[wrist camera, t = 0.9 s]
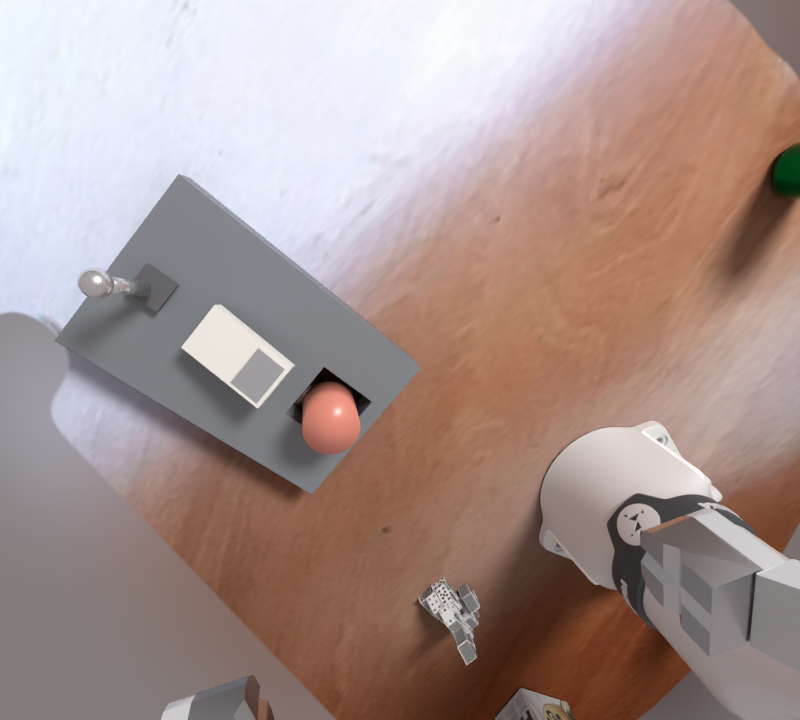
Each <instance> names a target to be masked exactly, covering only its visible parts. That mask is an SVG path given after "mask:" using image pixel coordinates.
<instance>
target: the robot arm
mask: <svg viewBox="0 0 800 720" xmlns="http://www.w3.org/2000/svg"><path fill="white" fill-rule="evenodd" d="M722 498H723V497H722V495H721V494H720V492H719V491H718V490H717V489H716V488H715V487H713V486H712V485H711V481H710V480H709V479H708V478H707V477H706V476H705V475H704V474H703V473H702V472H701V471H700V470H698V469H697V468H695V467H694V466H693V465H691V464H690V463H688V462H687V461H686V460H684V459H683V458H682V457H681V455H680V453H679V452H678V450H677V448H676V446H675V445H674V443H673V441H672V439H671V438H670V436H669V434H668V432H667V431H666V429H665V428H664V427H663V426H662V425H661V424H660V423H658V422H657V421H648V422H645V423H642V424H639V425H637V426H634V427H629V428H623V427H610V428H603V429H599V430H596V431H593V432H590V433H588V434H586V435H584V436H582V437H580V438H578V439H577V440H575V441H574V442H573V443H571V444H570V445H569V446H567V447H566V448H565V449H564V450H563V451H562V452H561V453H560V454H559V455H558V457H557V458H556V459H555V460H554V462H553V463H552V465H551V466H550V468H549V470H548V472H547V474H546V476H545V478H544V481H543V484H542V488H541V495H540V504H541V510H542V516H543V522H542V526H541V529H540V534H539V542H540V544H541V545H542V546H543V547H544V548H545V549H546V550H548V551H551V552H553V553H556V554H558V555H561V556H563V557H566V558H569V559H571V560H573V562H574V563H575V564H576V565H577V566H578V567H579V569H580V570H581V571H582V572H583V573H584V574H585V575H586V577H587V578H588V579H589V580H590V581H591V582H592V583H593V584H595V585H599V584H600V585H601V586H603V587H605V588H608V589H613V590H618V592H619V593H620V594H621V595H622V596H623V597H624V599H625V600H626V603H627V604H628V605H629V606H630V608H631V609H632V610H633V611H634V612H635V613H636V614H637V615H639V616H640V617H641V618H642V619H643V620H644V621H645V622H646V623H647V624H648V625H649V626H650V627H652V628H654V629H656V630H659V632H660V633H661V634H662V635H663V636H664V638H665V639H666V640H667V641H668V642H669V643H670V645H671V646H672V647H673V648H674V649H675V651H676V652H677V653H678V654H679V655H680V656H681V658H682V659H683V660H684V661H685V662H686V664H687V665H688V666H689V667H690V668H691V669H692V670H693V672H694V673H695V674H696V675H697V676H698V678H699V679H700V680H701V681H702V682H703V683H704V685H705V686H706V687H707V688H708V689H709V691H710V692H711V693H712V694H713V695H714V696H715V697H716V699H717V700H718V701H719V702H720V703H721V704H722V705H723V706H724V707H725V708H726V709H728V710H729V711H730V712H731V713H733V714H734V715H736V716H738V717H739V718H741V719H743V720H800V561H798V560H794V559H791V560H790V559H788V558H787V557H785V556H784V555H782V554H781V553H779V552H778V551H776V550H775V549H773V548H772V547H771V546H769V545H768V544H766V543H765V542H763V541H762V540H760V539H759V538H758V537H757V535H756V533H755V531H754V530H753V529H752V528H751V527H750V526H749V525H748V524H747V523H745V522H744V521H743V520H742V519H741V518H739V516H738V515H737V514H735V513H734V512H733V511H731V510H730V509H728V508H727V507H724V506H722V505H721V504H719V503H718V502H719V501H720V500H722ZM259 690H260V686H259V684H258V682H257V680H256V678H255V677H254V675H250V676H247V677H244V678H241V679H238V680H235V681H232V682H229V683H226V684H223V685H220V686H217V687H214V688H211V689H208V690H205V691H202V692H199V693H196V694H194V695H191V696H188V697H185V698H182V699H179V700H177V701H174V702H171V703H169V704H168V706H167V707H166V709H165V711H164V712H163V714H162V717H161V720H274V716H273V713H272V709H271V707H270V705H269V703H268V701H266V700H263V699H261V698H259Z"/></svg>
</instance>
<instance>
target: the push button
mask: <svg viewBox="0 0 800 720" xmlns="http://www.w3.org/2000/svg"><path fill="white" fill-rule="evenodd" d="M360 428H361V427H360V420H359V416H358V412H357V409H356V405H355V401H354V398H353V395H352V393H351V392H350V390H349V389H348V388H347V387H346V386H344V385H342V384H340V383H338V382H333V381H326V382H322V383H319V384H316V385H315V386H313V387H312V388H311V389H310V390H309V391H308V392H307V393H306V395H305V397H304V400H303V418H302V432H303V437H304V439H305V441H306V443H307V444H308V445H309V446H310V447H311V448H312V449H313V450H315V451H317V452H319V453H323V454H337V453H341V452H343V451H345V450H347V449H349V448H350V447H351V446H352V445H353V444H354V443H355V442H356V440H357V439H358V436H359V434H360Z"/></svg>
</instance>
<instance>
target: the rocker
mask: <svg viewBox="0 0 800 720" xmlns="http://www.w3.org/2000/svg"><path fill="white" fill-rule="evenodd" d="M181 348H182V349H184V350H185V351H186V352H187V353H189V354H190V355H191V356H192V357H194V358H195V359H196V360H197V361H199V362H200V363H201V364H202V365H204V366H205V367H206V368H207V369H209V370H210V371H211V372H212V373H214V374H215V375H216V376H217V377H219V378H220V379H221V380H222V381H224V382H225V383H226V384H227V385H229V386H230V387H231V388H232V389H234V390H235V391H236V392H237V393H239V394H240V395H241V396H242V397H244V398H245V399H246V400H247V401H249V402H250V403H251V404H252V405H254V406H255V407H256V408H257V409H258V408H260V407H261V406H262V405H263V404H264V403H265V402H266V400H267V399H268V398H269V397H270V396H271V394H272V393H273V392H274V391H275V390H276V388H277V387H278V386H279V385H280V383H281V382H282V381H283V380H284V379H285V377H286V376H287V375H288V374H289V373H290V371H291V370H292V369H293V368H294V367H295V365H294V364H293V363H292V362H291V361H290V360H288V359H287V358H286V357H285V356H283V355H282V354H281V353H280V352H279V351H277V350H276V349H275V348H274V347H272V346H271V345H270V344H269V343H268V342H266V341H265V340H264V339H263V338H261V337H260V336H259V335H258V334H257V333H255V332H254V331H253V330H252V329H250V328H249V327H248V326H247V325H246V324H244V323H243V322H242V321H241V320H239V319H238V318H237V317H236V316H235V315H233V314H232V313H231V312H230V311H228V310H227V309H226V308H225V307H224V306H222V305H214V306H213V307H212V309H211V310H210V311H209V313H208V314H207V315H206V316H205V318H204V319H203V320H202V321H201V323H200V324H199V325H198V327H197V328H196V329H195V330H194V332H193V333H192V334H191V335H190V337H189V338H188V339H187V340H186V342H185V343H184V344H183V346H182V347H181Z"/></svg>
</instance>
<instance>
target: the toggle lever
mask: <svg viewBox="0 0 800 720" xmlns="http://www.w3.org/2000/svg"><path fill="white" fill-rule="evenodd" d="M78 287H79V289H80V290H81V292H82V293H83V294H85V295H86V296H88V297H90V298H94V299H102V298H105V297H107V296H109V295H110V294H111V293H113V294H124V295H135V296H149V295H151V294H152V292H153V287H152V285H151V284H150V283H148V282H143V281H136V280H129V279H122V278H115V277H112V276H111V275H110V274H109V273H108V272H107V271H105V270H103V269H99V268H89V269H86V270H84V271H83V272H82V273H81V274H80V275H79V277H78Z"/></svg>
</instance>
